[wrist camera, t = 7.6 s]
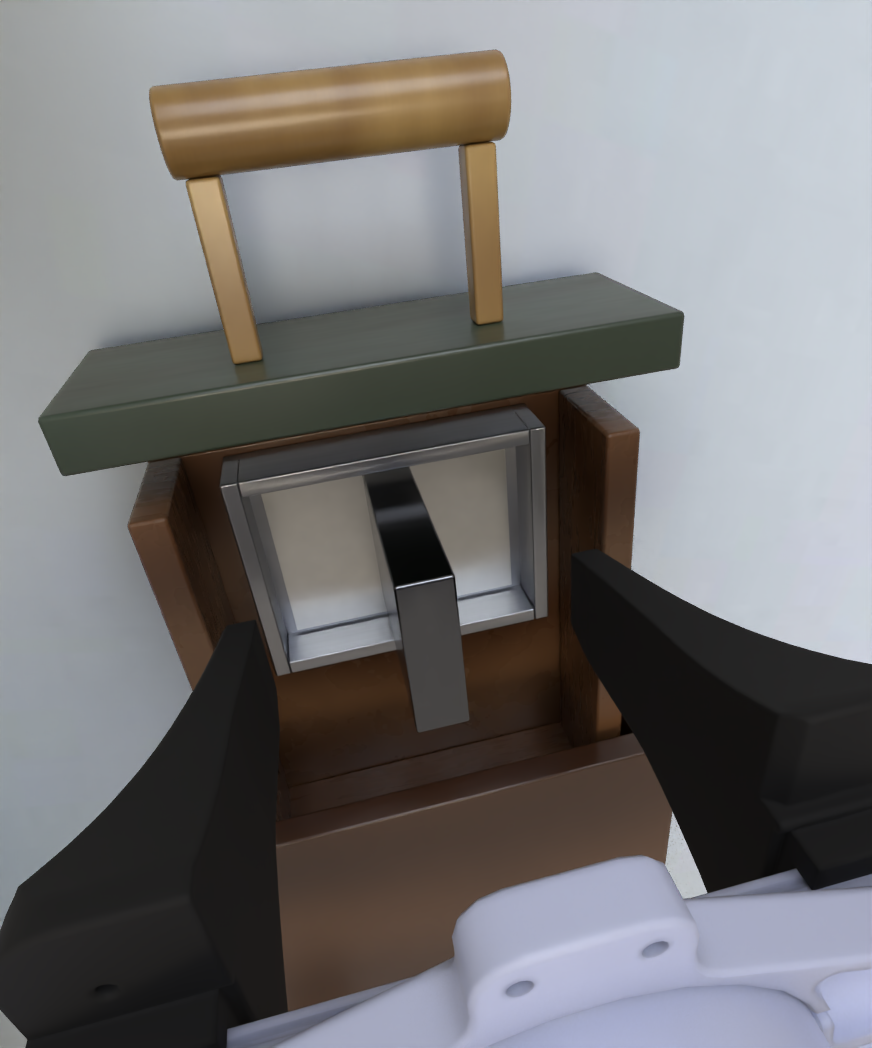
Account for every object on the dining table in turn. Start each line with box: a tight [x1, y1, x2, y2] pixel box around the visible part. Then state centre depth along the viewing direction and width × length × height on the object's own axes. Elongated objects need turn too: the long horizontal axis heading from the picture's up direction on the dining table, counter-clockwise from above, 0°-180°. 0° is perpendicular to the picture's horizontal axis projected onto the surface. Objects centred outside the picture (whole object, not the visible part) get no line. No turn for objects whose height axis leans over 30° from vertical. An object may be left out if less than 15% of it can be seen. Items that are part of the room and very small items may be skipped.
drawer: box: [38, 50, 684, 821], centre depth 17 cm, size 20×12×4 cm, turn 6°
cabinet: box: [276, 716, 672, 1012], centre depth 25 cm, size 17×14×6 cm
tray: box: [219, 404, 548, 733], centre depth 16 cm, size 6×8×5 cm
